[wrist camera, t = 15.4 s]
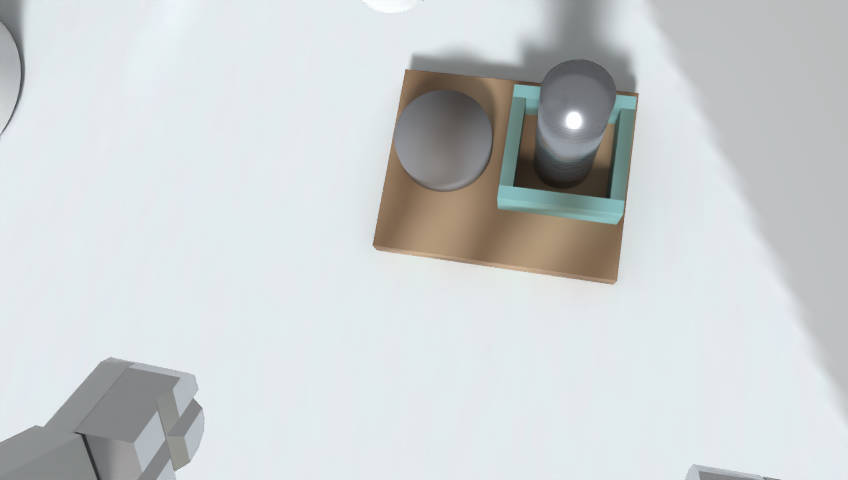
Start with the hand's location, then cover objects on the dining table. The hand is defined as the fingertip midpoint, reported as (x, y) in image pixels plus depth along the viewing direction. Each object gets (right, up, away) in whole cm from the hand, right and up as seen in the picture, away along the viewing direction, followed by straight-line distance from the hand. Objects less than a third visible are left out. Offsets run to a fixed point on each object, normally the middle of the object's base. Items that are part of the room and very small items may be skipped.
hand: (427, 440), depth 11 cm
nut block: (+5, +7, +33) cm, 34 cm away
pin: (+9, +8, +32) cm, 34 cm away
